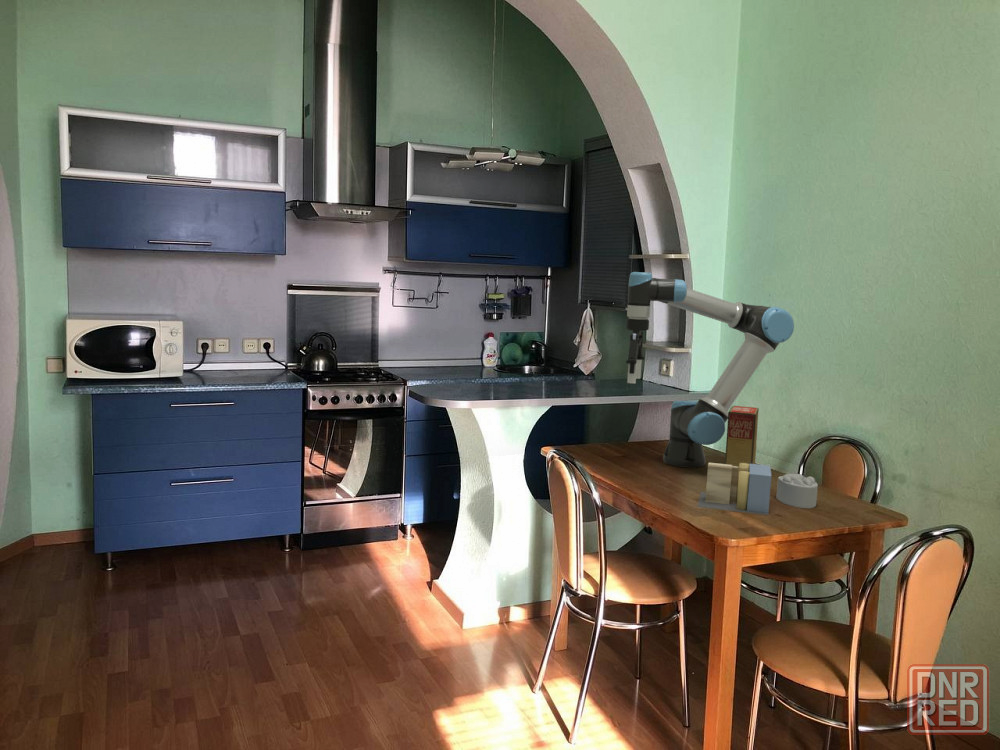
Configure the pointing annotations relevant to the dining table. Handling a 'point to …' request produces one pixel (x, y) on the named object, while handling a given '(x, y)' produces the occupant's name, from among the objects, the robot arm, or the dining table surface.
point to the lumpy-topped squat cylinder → (797, 490)
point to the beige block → (722, 483)
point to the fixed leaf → (754, 488)
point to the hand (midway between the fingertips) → (634, 380)
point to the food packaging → (741, 435)
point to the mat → (721, 505)
